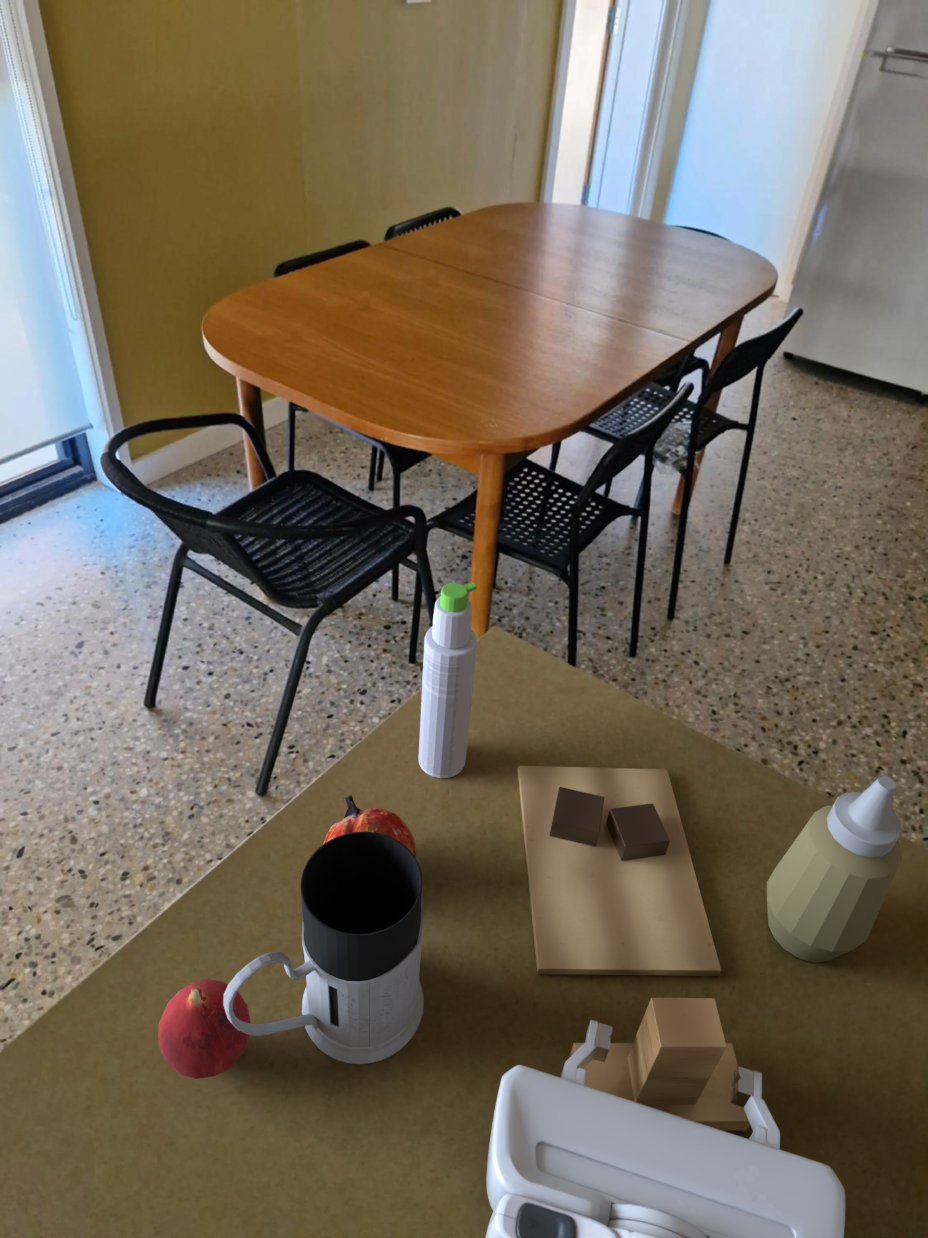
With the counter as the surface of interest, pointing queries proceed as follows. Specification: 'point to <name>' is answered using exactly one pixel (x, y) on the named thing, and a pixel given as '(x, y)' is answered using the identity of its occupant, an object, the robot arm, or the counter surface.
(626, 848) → the dark brown square block
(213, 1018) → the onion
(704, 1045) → the brush
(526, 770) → the board
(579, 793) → the chip
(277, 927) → the counter surface
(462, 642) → the bottle
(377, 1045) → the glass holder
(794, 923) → the squeeze bottle
